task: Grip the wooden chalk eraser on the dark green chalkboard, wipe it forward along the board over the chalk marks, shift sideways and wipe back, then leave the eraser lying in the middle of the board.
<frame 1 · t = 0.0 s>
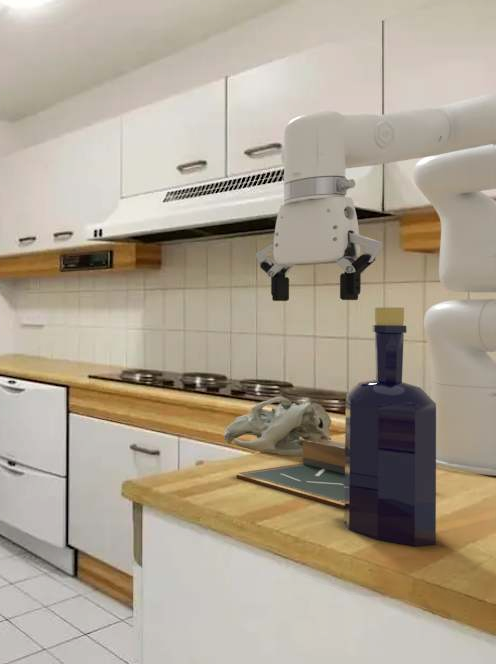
hand: (313, 300, 87), 31 cm above the counter, tool pointing down, fingers open, 9 cm apart
animal skull: (275, 454, 113), on the counter
eraser: (338, 469, 98), point 1 cm above the counter, touching chalkboard
chalkboard: (329, 485, 92), on the counter
bottle: (387, 533, 73), on the counter
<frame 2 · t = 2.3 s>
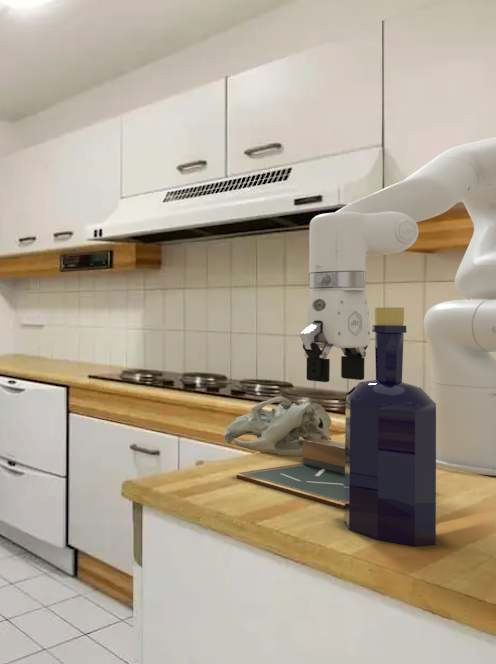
hand: (335, 380, 96), 17 cm above the counter, tool pointing down, fingers open, 9 cm apart
nothing on the counter moved.
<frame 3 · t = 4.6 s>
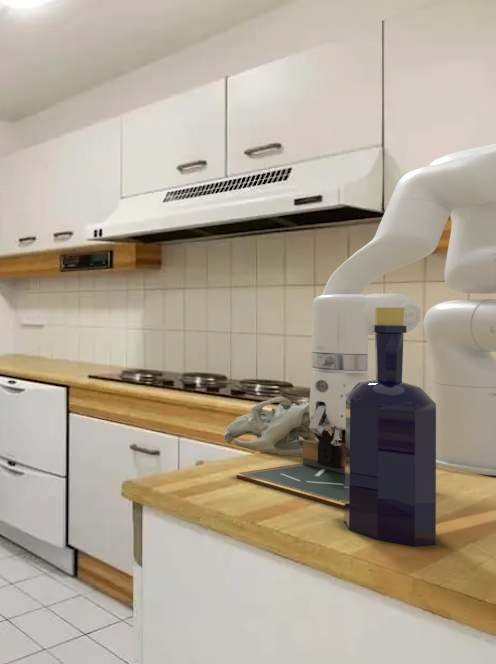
hand: (338, 463, 98), 2 cm above the counter, tool pointing down, fingers closed on eraser, 4 cm apart
eraser: (338, 469, 98), point 1 cm above the counter, touching chalkboard, gripper
everything else where it was.
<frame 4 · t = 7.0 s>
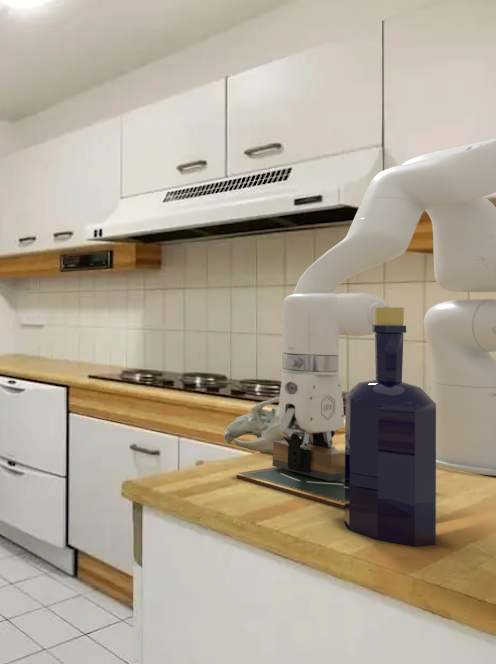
hand: (309, 468, 95), 2 cm above the counter, tool pointing down, fingers closed on eraser, 4 cm apart
eraser: (308, 472, 95), point 1 cm above the counter, touching gripper
everything else where it was.
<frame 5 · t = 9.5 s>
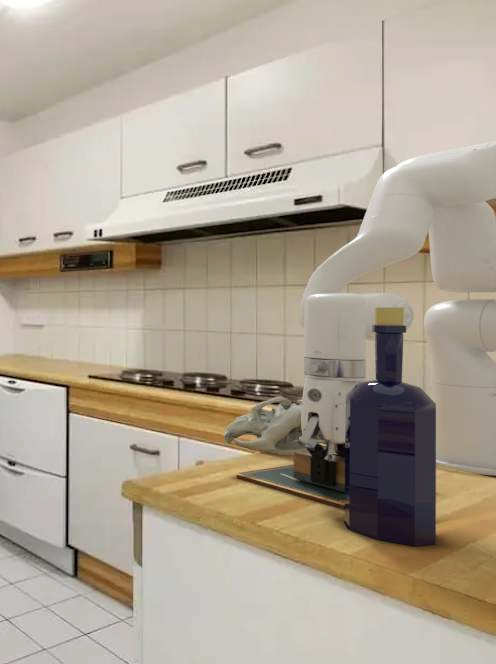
hand: (333, 481, 88), 2 cm above the counter, tool pointing down, fingers closed on eraser, 4 cm apart
eraser: (332, 485, 88), point 1 cm above the counter, touching gripper
everything else where it was.
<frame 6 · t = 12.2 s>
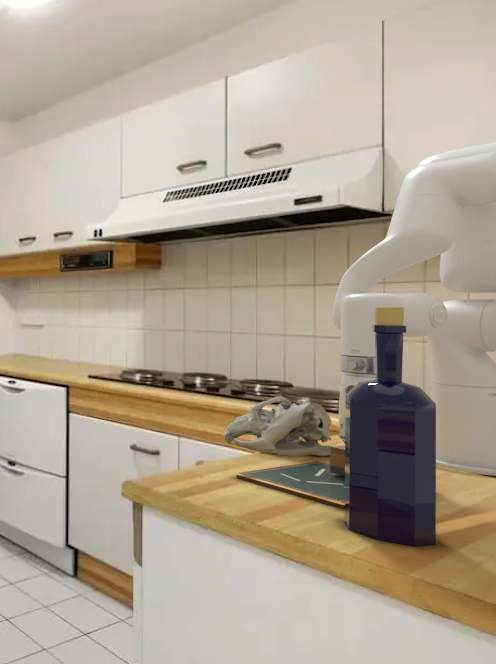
hand: (369, 474, 91), 2 cm above the counter, tool pointing down, fingers closed on eraser, 4 cm apart
eraser: (368, 479, 92), point 1 cm above the counter, touching gripper
everything else where it was.
when the fingers open (2 cm above the counter, at t = 14.4 s): eraser stays where it is, resting on chalkboard.
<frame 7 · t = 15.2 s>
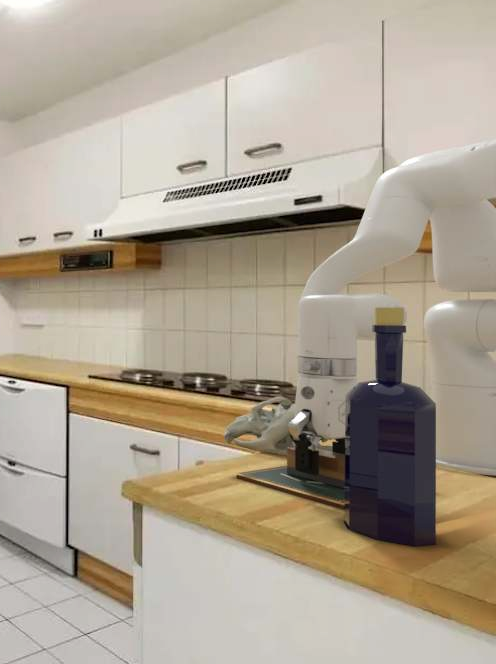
hand: (325, 469, 92), 3 cm above the counter, tool pointing down, fingers open, 9 cm apart
eraser: (324, 479, 92), point 1 cm above the counter, touching chalkboard
everything else where it was.
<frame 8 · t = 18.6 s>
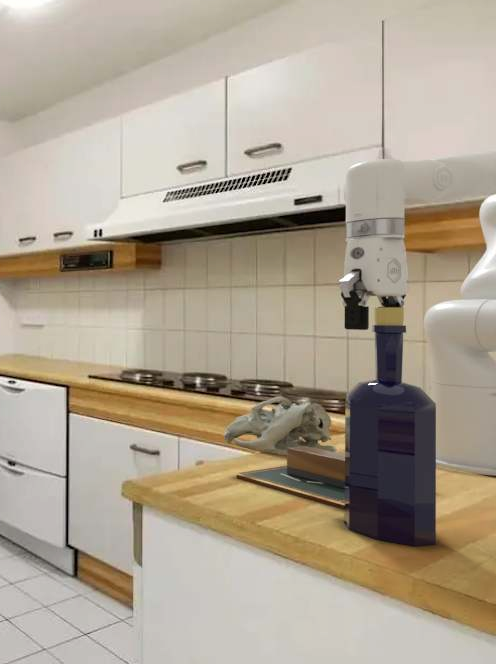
hand: (373, 329, 96), 26 cm above the counter, tool pointing down, fingers open, 9 cm apart
nothing on the counter moved.
at the end: eraser inside the target area (0.4 cm from its centre), point 1.1 cm above the counter; eraser moved 9.6 cm from its start; the gripper is holding nothing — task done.
